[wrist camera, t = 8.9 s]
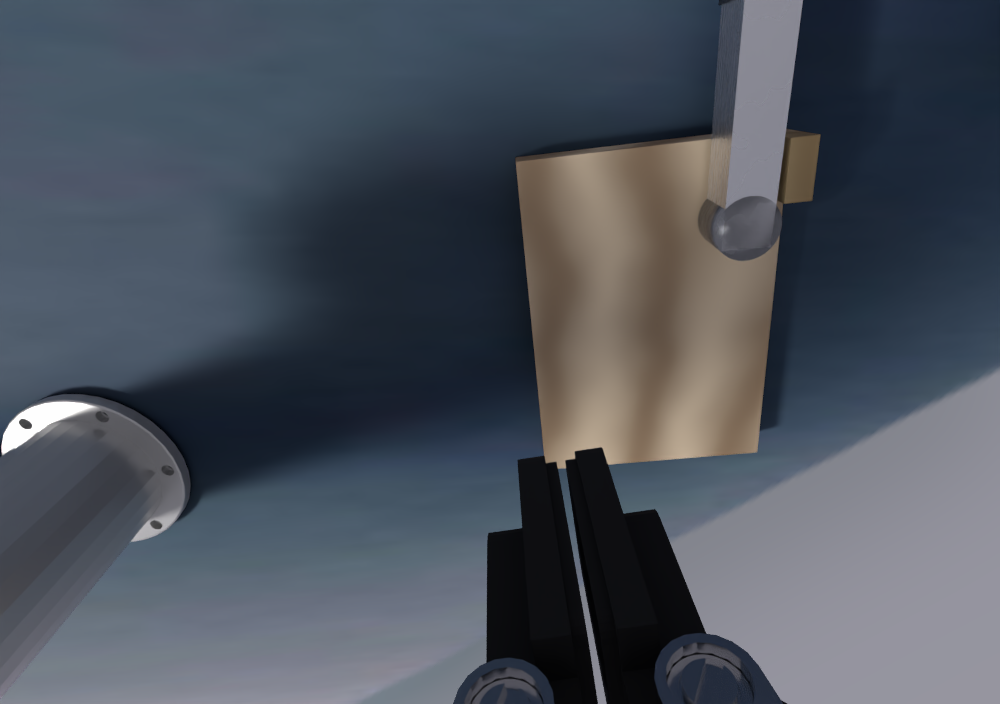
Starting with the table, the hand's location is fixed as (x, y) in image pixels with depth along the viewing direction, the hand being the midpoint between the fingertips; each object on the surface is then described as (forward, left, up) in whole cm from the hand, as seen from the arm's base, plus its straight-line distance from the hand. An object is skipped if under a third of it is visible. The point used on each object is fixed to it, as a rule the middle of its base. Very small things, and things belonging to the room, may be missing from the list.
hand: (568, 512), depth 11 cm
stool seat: (+7, -6, -24) cm, 26 cm away
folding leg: (+11, +5, -22) cm, 25 cm away
